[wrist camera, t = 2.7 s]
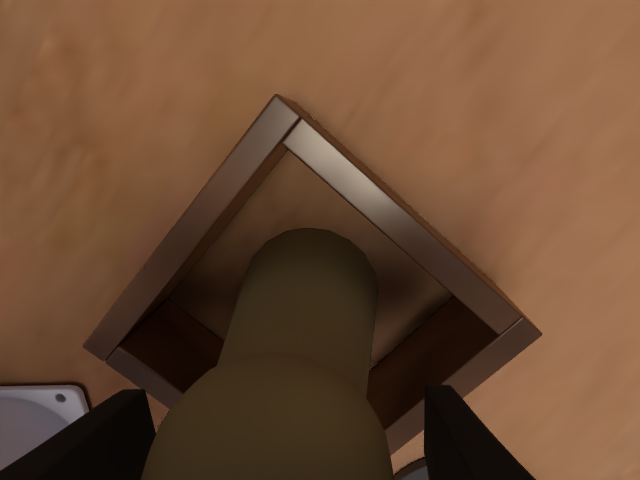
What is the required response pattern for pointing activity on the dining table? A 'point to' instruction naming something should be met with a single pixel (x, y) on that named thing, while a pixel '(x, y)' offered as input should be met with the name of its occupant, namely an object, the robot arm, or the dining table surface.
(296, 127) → the frame
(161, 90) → the dining table surface
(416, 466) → the silver flat disc
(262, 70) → the dining table surface
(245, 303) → the cork
